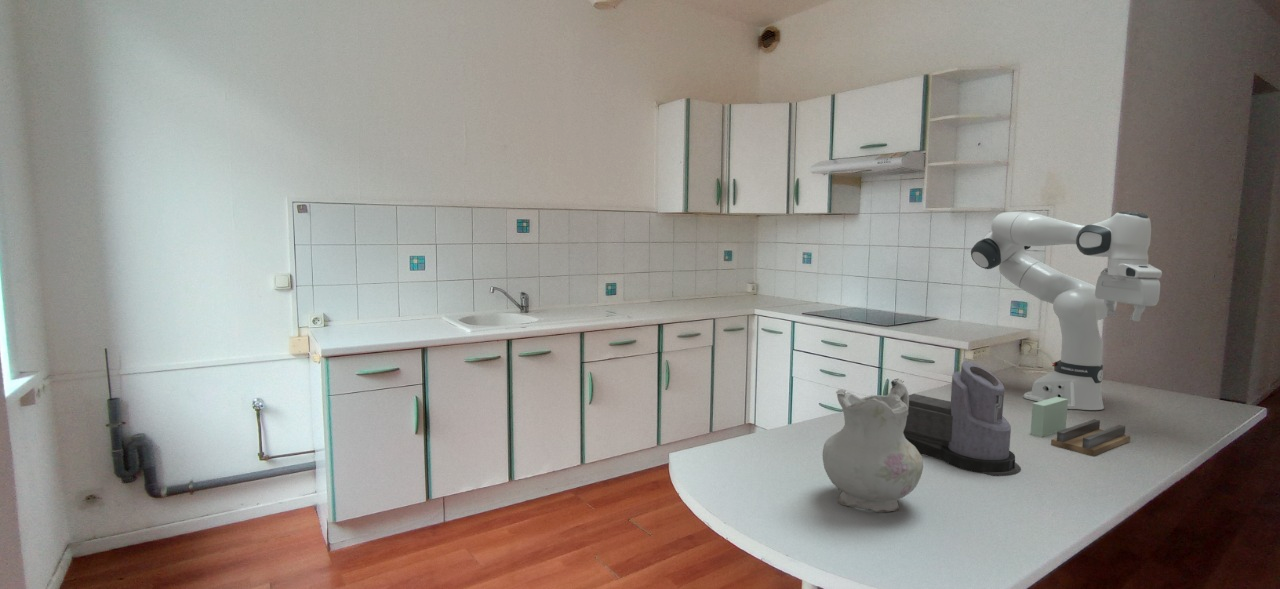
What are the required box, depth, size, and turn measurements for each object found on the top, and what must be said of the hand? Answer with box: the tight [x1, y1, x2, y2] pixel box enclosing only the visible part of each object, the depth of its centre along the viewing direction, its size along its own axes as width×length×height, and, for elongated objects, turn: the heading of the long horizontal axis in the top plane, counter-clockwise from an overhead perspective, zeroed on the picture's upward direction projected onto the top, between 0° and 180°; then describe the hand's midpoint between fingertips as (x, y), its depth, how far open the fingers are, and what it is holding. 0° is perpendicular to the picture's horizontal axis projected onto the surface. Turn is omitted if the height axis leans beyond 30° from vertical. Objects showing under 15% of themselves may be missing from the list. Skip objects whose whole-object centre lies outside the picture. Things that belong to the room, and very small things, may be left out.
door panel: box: [1030, 397, 1068, 438], centre depth 179 cm, size 3×14×9 cm, turn 123°
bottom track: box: [1050, 418, 1131, 457], centre depth 169 cm, size 10×22×4 cm, turn 123°
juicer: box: [903, 360, 1022, 477], centre depth 158 cm, size 30×16×24 cm, turn 39°
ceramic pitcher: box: [822, 378, 924, 513], centre depth 131 cm, size 22×20×25 cm
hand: (1122, 318), depth 177 cm, fingers open, 8 cm apart
